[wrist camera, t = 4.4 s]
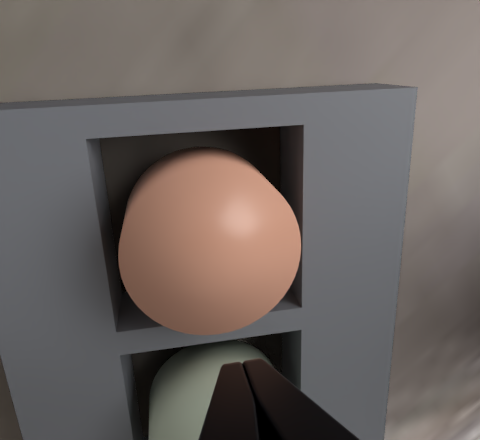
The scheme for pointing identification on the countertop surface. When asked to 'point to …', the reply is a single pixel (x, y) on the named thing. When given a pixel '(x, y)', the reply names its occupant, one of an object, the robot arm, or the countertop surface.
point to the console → (156, 335)
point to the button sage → (191, 387)
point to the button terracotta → (207, 242)
